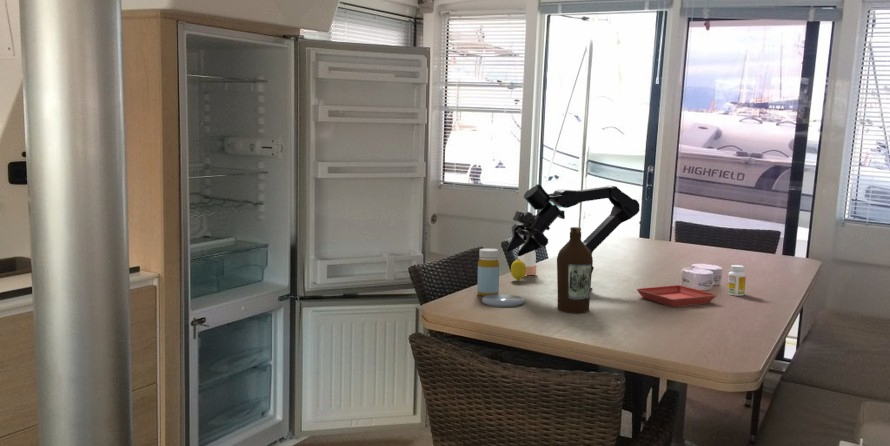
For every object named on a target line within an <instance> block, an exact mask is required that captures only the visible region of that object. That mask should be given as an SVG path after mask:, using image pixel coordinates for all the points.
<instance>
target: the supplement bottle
mask: <svg viewBox="0 0 890 446" xmlns="http://www.w3.org/2000/svg"><path fill="white" fill-rule="evenodd" d="M730 270H731V271H729V272H728V273H727V274H728V276H727V277H728V279H727V294H728V295H730V296H736V297H737V296H739V297H741V296H744V295H745V294H746V293H745V292H746V277H747V275H746V273H745V272H744V270H745V267H744V265H741V264H731V265H730Z"/></svg>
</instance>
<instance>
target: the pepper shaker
mask: <svg viewBox="0 0 890 446" xmlns="http://www.w3.org/2000/svg"><path fill="white" fill-rule="evenodd" d="M525 229H526V228H525ZM525 242H526V241H525ZM523 245H524V244H522V245H521V246H519V247H518V248H519V250H520V249H521V247H522V246H523ZM519 250H518V251H519ZM536 258H537V255H536V250H534V251H531V252H529V253H526V254H524V255H522V256H518V255H517V259H520V260H521V261H523V262H524V263H525V266H526V274H525V275H535V276H536V275H537V265H536V262H537V261H536Z"/></svg>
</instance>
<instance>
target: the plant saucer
mask: <svg viewBox="0 0 890 446" xmlns="http://www.w3.org/2000/svg"><path fill="white" fill-rule="evenodd" d="M636 291H637V292H638V293H639V295H640V296H641V297H642V298H644V299H646V300H649V301H651V302H652V301H653V302H656V303H659V304H662V305H665V306H668V307H673V308H675V307H685V306H694V305H703V304H704V305H705V304H709V303H710V302H712V301H713V299H715V298H716V297H717V294H715V293H712V292H707V291H705V290H701V289H696V288H692V287H688V286H685V285H680V284H678V285H675V284H674V285H667V286H666V285H665V286H664V285H663V286H655V287H652V286H651V287H642V288H636Z"/></svg>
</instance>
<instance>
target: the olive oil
mask: <svg viewBox="0 0 890 446" xmlns="http://www.w3.org/2000/svg"><path fill="white" fill-rule="evenodd" d="M569 230H570V231H569V240H568V241H567V242H566V243H565V244H564V245H563V246H562V248H561V249H560V250H559V251H558V254H557V258H556V275H557V276H556V278H557V279H556V280H557V281H556V282H557V286H556V287H557V310H558V311H560V312H563V313H568V314H569V313H570V314H583V313H584V314H585V313H588V312H589V311H590V303H591V302H590V299H591V290H590V288H592V286H591V285H592V276H593V275H592V274H593V272H592V266H593V262H594V260H593V259H594V257H593V253H592V254H591V252H590V250H589V249H588V248H587V247H586V246H585V245H584V243H583V241H582V232H581V231H582V228H581V227H579V226H578V227H577V226H571V227H570V229H569Z"/></svg>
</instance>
